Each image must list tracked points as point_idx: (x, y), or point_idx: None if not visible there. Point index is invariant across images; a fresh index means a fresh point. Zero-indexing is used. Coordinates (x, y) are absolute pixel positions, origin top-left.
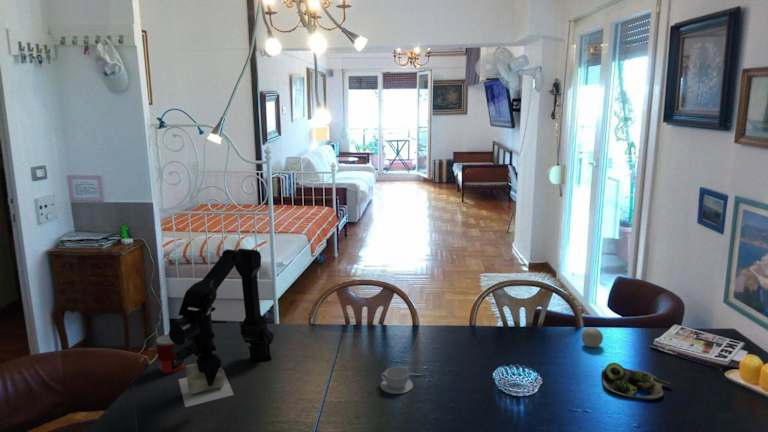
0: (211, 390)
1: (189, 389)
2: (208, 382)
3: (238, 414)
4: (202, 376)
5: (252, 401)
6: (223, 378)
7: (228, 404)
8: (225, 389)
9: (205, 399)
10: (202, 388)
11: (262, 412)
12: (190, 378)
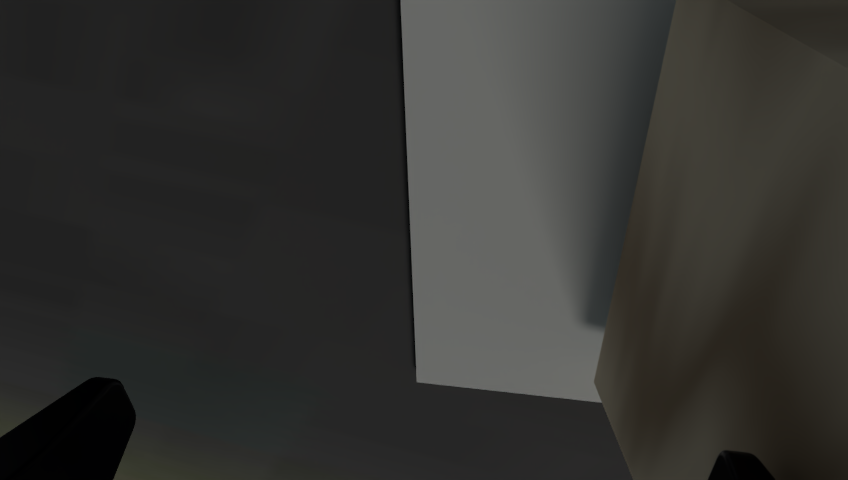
0: None
1: (720, 2)
2: (4, 454)
3: (91, 319)
4: (742, 349)
5: (261, 434)
6: None
7: (279, 302)
8: (567, 358)
9: (466, 146)
10: (653, 194)
11: None
12: (841, 147)
